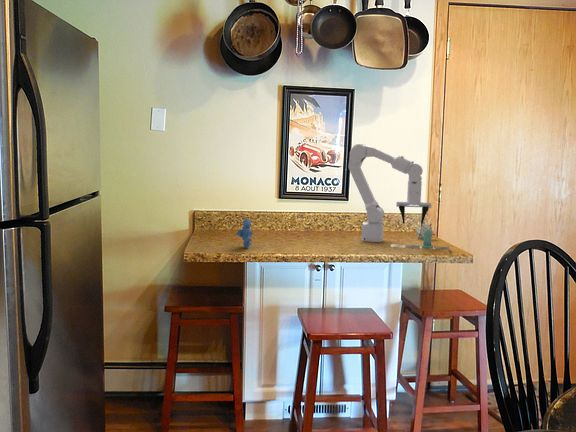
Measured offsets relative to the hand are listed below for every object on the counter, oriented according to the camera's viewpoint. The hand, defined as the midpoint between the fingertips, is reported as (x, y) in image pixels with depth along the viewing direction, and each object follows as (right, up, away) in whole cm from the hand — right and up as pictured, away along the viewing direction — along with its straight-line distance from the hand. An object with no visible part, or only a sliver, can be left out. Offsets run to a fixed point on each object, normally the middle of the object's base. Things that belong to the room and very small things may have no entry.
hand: (412, 223), depth 229 cm
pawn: (+4, -10, -9) cm, 14 cm away
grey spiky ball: (+8, -8, +14) cm, 18 cm away
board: (+1, -11, -8) cm, 13 cm away
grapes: (-72, -10, -10) cm, 73 cm away
